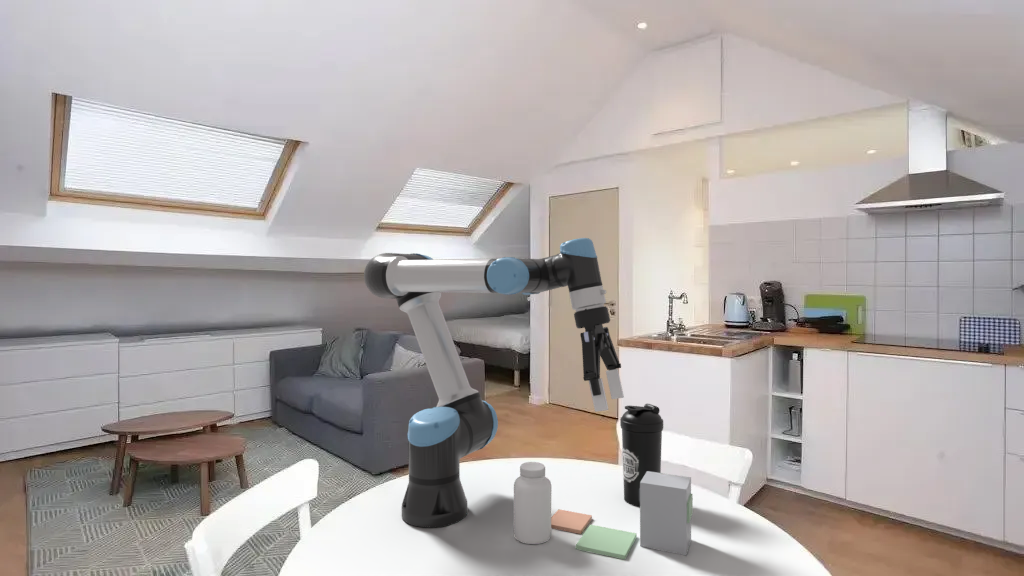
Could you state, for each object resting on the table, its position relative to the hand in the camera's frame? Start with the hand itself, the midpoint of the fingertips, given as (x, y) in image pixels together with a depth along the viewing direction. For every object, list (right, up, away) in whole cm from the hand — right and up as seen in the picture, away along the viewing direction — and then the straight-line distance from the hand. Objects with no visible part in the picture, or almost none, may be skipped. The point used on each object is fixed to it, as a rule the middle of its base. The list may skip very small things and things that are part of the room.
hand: (610, 404), depth 120 cm
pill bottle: (-17, -27, -4) cm, 32 cm away
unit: (+10, -27, -7) cm, 30 cm away
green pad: (-2, -27, -7) cm, 28 cm away
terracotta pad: (-9, -27, +2) cm, 28 cm away
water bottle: (+10, -27, +15) cm, 32 cm away
